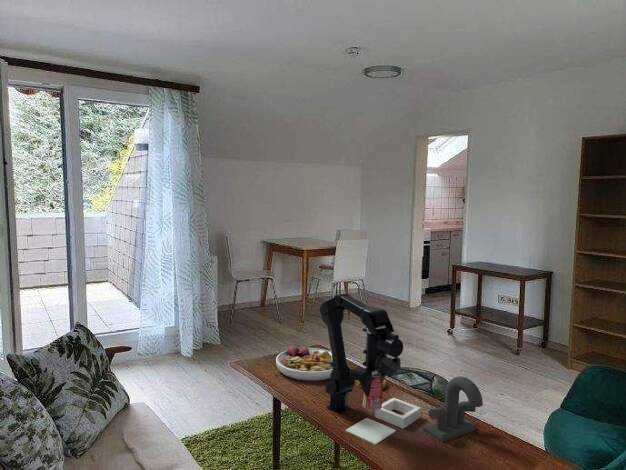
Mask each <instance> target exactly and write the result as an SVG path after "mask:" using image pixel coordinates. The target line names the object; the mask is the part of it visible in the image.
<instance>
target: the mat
mask: <svg viewBox="0 0 626 470" xmlns="http://www.w3.org/2000/svg"><path fill="white" fill-rule="evenodd" d="M345 432H347V433H348V434H352V435H353V436H355V437H358V438H360V439H361V440H363V441H366V442H368V443H370V444H372V445H374V446H376V445H377V444H380V442H382V441H383V440H386V438H388V437H390V436H391V435H393V434H394V433H396V432H397V430H396V429H394V428H392V427H389V426H388V425H385V424H383V423H380V422H377V421H375V420H373V419H371V418H368V417H366V418H364V419H363V420H360V421H359V422H357V423H355V424H353V425H351V426H350V427H348V428H346V429H345Z"/></svg>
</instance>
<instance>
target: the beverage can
mask: <svg viewBox="0 0 626 470" xmlns="http://www.w3.org/2000/svg"><path fill="white" fill-rule="evenodd" d="M372 378H373V379H375V380H374V381H372V382H371V387H370V393H369V397H367V396H365V393H364V391H363V390H362V391H363V392H362V393H363V395H362V407H363V408H364V409H365V410H367V411H369V412H375V411H378V410H379V409H381V408H382V404H383V389H384V388H383V377H382V376H381V373H380V372H378V371H376V372H373V373H372Z"/></svg>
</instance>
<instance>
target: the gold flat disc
mask: <svg viewBox="0 0 626 470" xmlns="http://www.w3.org/2000/svg"><path fill="white" fill-rule="evenodd" d="M355 385H356V386H357V387H359V388H361V389H362V387H361V384H360V382H359V381H358V380H356V382H355ZM386 385H387V380H386V378H384V381H383V389H385V388H386Z"/></svg>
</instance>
